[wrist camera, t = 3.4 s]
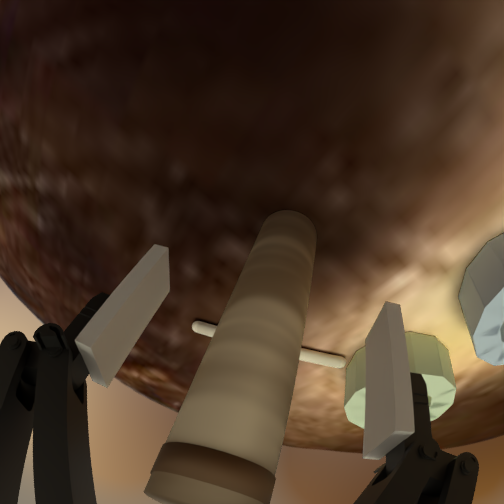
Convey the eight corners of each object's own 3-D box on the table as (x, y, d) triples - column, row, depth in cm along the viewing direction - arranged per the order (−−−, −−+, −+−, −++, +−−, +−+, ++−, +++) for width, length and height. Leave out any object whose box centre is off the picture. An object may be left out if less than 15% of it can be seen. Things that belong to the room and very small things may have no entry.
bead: (371, 323, 22) (373, 365, 19) (466, 342, 21) (476, 380, 17) (334, 388, 27) (330, 424, 24) (416, 400, 26) (418, 434, 23)
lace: (194, 316, 26) (190, 325, 25) (347, 355, 24) (347, 364, 23) (194, 324, 26) (190, 333, 25) (343, 362, 25) (343, 371, 24)
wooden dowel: (264, 203, 19) (130, 480, 6) (324, 217, 18) (274, 523, 5) (256, 252, 21) (151, 501, 8) (310, 265, 20) (253, 531, 7)
